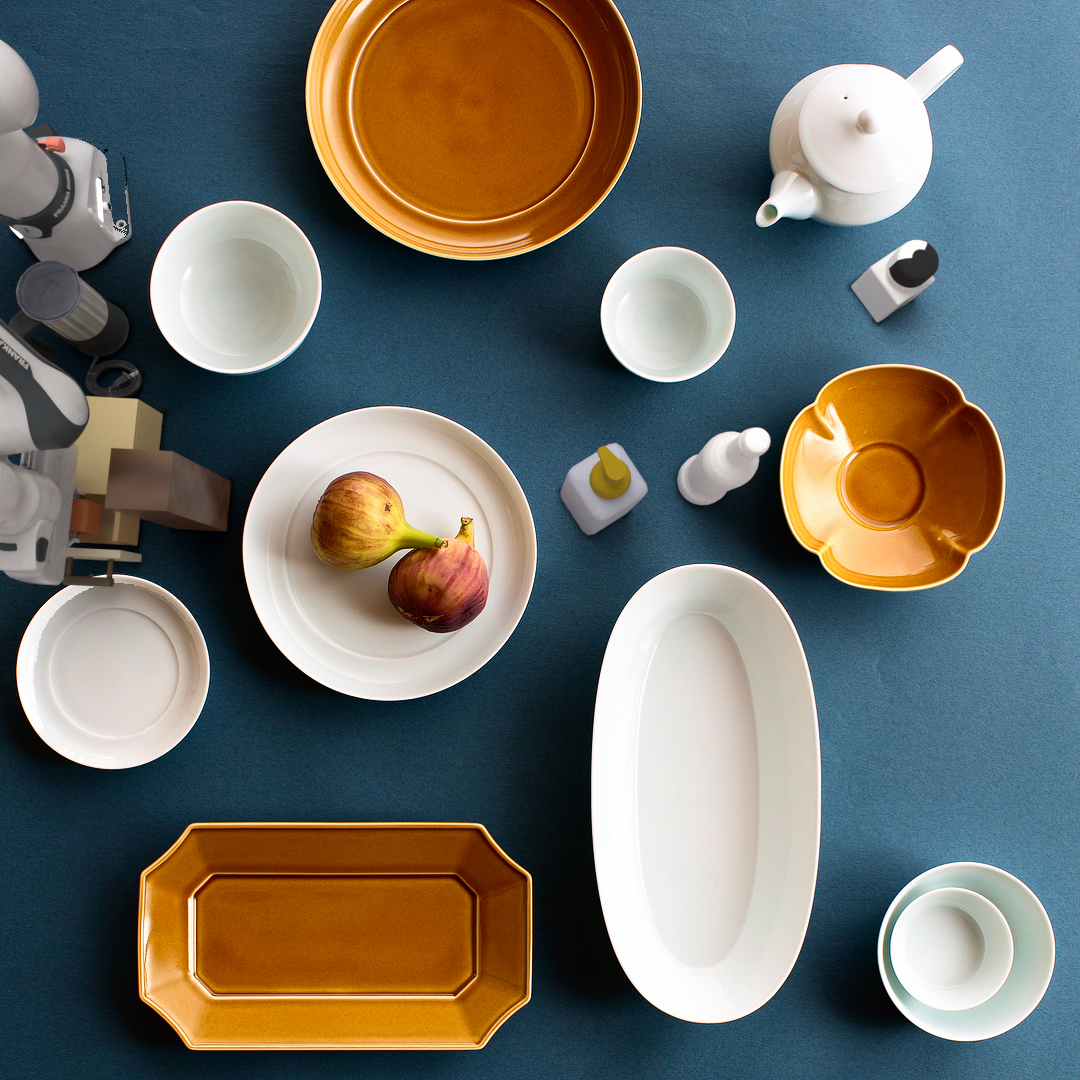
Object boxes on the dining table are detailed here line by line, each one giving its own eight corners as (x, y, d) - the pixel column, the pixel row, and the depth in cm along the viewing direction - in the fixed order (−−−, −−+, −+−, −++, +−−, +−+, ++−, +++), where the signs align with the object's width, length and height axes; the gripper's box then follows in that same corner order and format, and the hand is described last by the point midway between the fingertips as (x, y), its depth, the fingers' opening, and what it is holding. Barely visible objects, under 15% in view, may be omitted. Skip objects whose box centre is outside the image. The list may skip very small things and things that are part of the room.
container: (912, 299, 133) (955, 264, 120) (876, 323, 133) (916, 291, 120) (885, 262, 134) (925, 224, 121) (849, 287, 133) (885, 250, 120)
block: (70, 503, 116) (50, 497, 111) (101, 504, 116) (83, 499, 111) (66, 533, 116) (47, 529, 111) (98, 535, 116) (79, 530, 111)
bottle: (693, 448, 129) (749, 394, 99) (734, 476, 129) (802, 431, 99) (665, 487, 128) (713, 445, 98) (706, 516, 128) (767, 483, 98)
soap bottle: (602, 463, 128) (625, 423, 103) (633, 509, 127) (663, 480, 103) (556, 492, 127) (568, 459, 102) (586, 539, 127) (606, 517, 102)
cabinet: (153, 504, 124) (127, 495, 116) (72, 500, 124) (40, 491, 115) (163, 414, 126) (138, 398, 118) (82, 409, 126) (51, 393, 117)
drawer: (138, 589, 122) (116, 586, 115) (63, 585, 122) (37, 583, 115) (150, 476, 124) (129, 467, 117) (76, 472, 124) (51, 463, 117)
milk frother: (93, 291, 128) (38, 247, 113) (176, 339, 127) (133, 302, 113) (43, 364, 126) (-19, 330, 111) (127, 413, 126) (77, 385, 111)
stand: (180, 478, 125) (110, 447, 103) (231, 481, 125) (173, 451, 104) (175, 529, 124) (104, 508, 102) (226, 531, 124) (167, 511, 103)
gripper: (3, 421, 102) (63, 446, 115) (-17, 580, 99) (47, 585, 113) (53, 424, 102) (107, 448, 116) (35, 582, 100) (92, 587, 113)
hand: (77, 517), depth 114 cm, fingers closed on block, 4 cm apart
